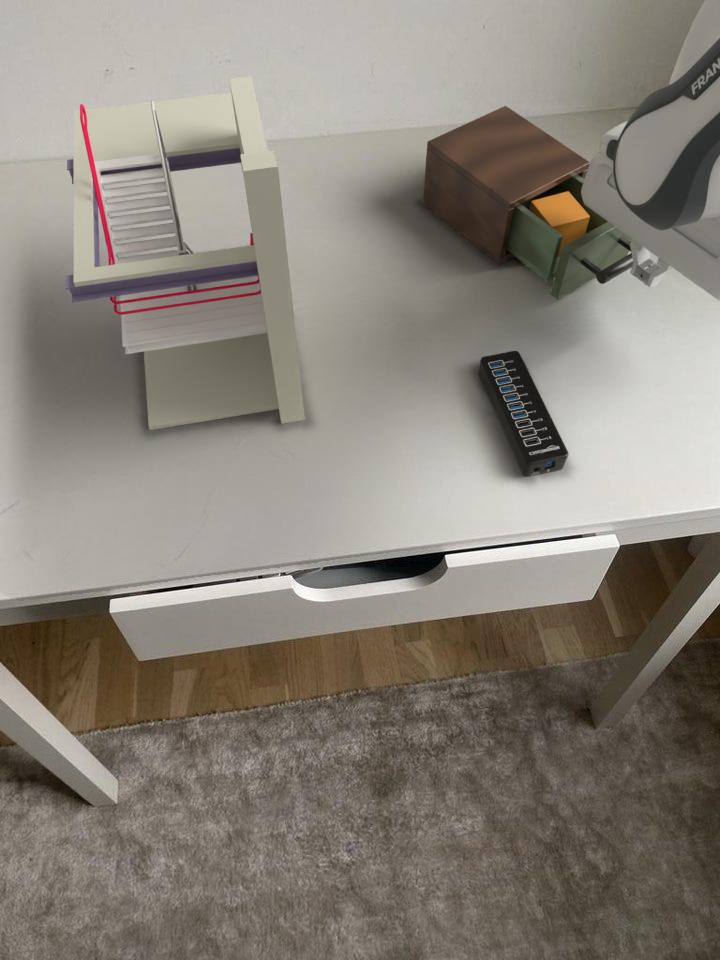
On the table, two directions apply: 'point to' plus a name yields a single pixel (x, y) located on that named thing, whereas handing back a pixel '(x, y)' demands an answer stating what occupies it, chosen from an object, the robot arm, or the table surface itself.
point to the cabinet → (493, 175)
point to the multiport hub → (522, 414)
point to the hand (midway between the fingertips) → (644, 278)
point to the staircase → (188, 258)
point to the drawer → (568, 245)
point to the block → (562, 216)
